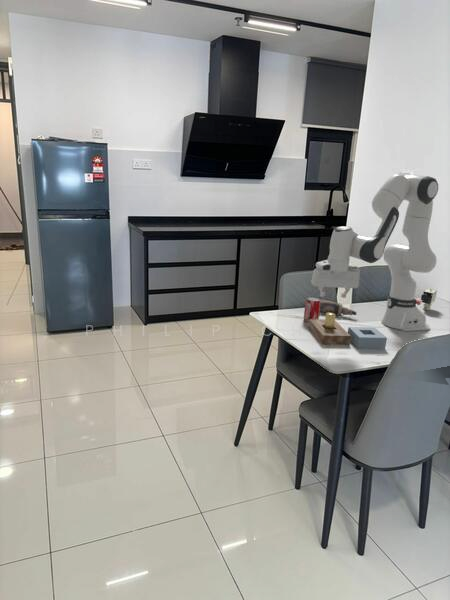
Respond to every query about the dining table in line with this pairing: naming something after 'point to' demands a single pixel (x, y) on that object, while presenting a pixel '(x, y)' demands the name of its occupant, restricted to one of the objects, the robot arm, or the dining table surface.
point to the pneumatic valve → (428, 298)
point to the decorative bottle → (335, 308)
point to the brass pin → (329, 321)
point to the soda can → (312, 309)
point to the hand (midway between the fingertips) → (332, 297)
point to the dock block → (367, 338)
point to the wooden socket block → (329, 333)
